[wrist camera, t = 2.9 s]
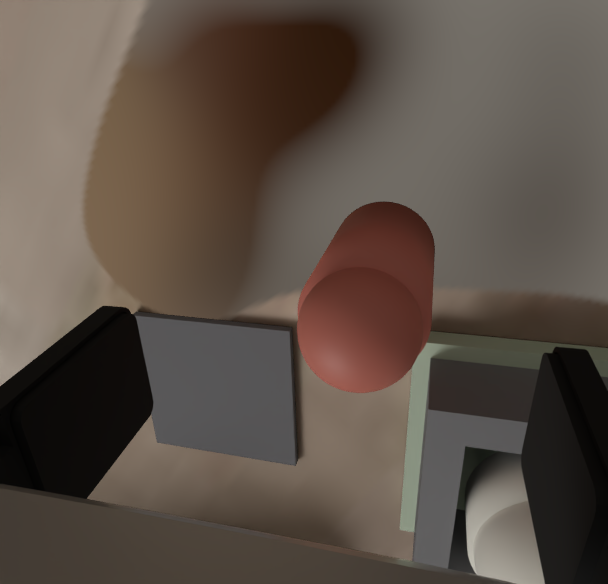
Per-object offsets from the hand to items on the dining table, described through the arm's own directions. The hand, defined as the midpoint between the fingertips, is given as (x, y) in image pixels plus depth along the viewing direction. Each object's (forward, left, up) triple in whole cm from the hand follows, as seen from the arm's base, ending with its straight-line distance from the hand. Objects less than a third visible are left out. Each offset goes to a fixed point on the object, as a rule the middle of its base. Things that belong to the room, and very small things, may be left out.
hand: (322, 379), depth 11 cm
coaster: (+8, +8, -10) cm, 15 cm away
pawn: (0, 0, -10) cm, 10 cm away
